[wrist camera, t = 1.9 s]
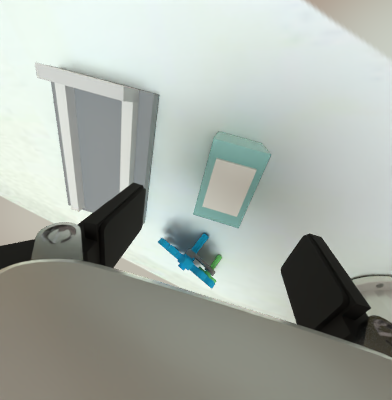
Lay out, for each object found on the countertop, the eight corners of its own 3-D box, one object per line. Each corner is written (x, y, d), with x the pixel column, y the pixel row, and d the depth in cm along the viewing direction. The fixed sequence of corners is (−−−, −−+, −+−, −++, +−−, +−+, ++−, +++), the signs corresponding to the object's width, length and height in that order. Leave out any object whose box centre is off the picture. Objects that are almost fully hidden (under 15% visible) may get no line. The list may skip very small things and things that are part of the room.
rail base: (159, 94, 20) (140, 90, 16) (144, 222, 28) (130, 240, 24) (60, 68, 20) (18, 57, 16) (76, 200, 29) (51, 214, 25)
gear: (147, 238, 27) (169, 260, 19) (172, 210, 29) (203, 218, 20) (191, 275, 32) (226, 308, 23) (211, 249, 33) (250, 270, 25)
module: (261, 142, 20) (272, 155, 14) (237, 202, 24) (238, 230, 18) (218, 131, 20) (213, 139, 15) (201, 191, 24) (192, 216, 18)
